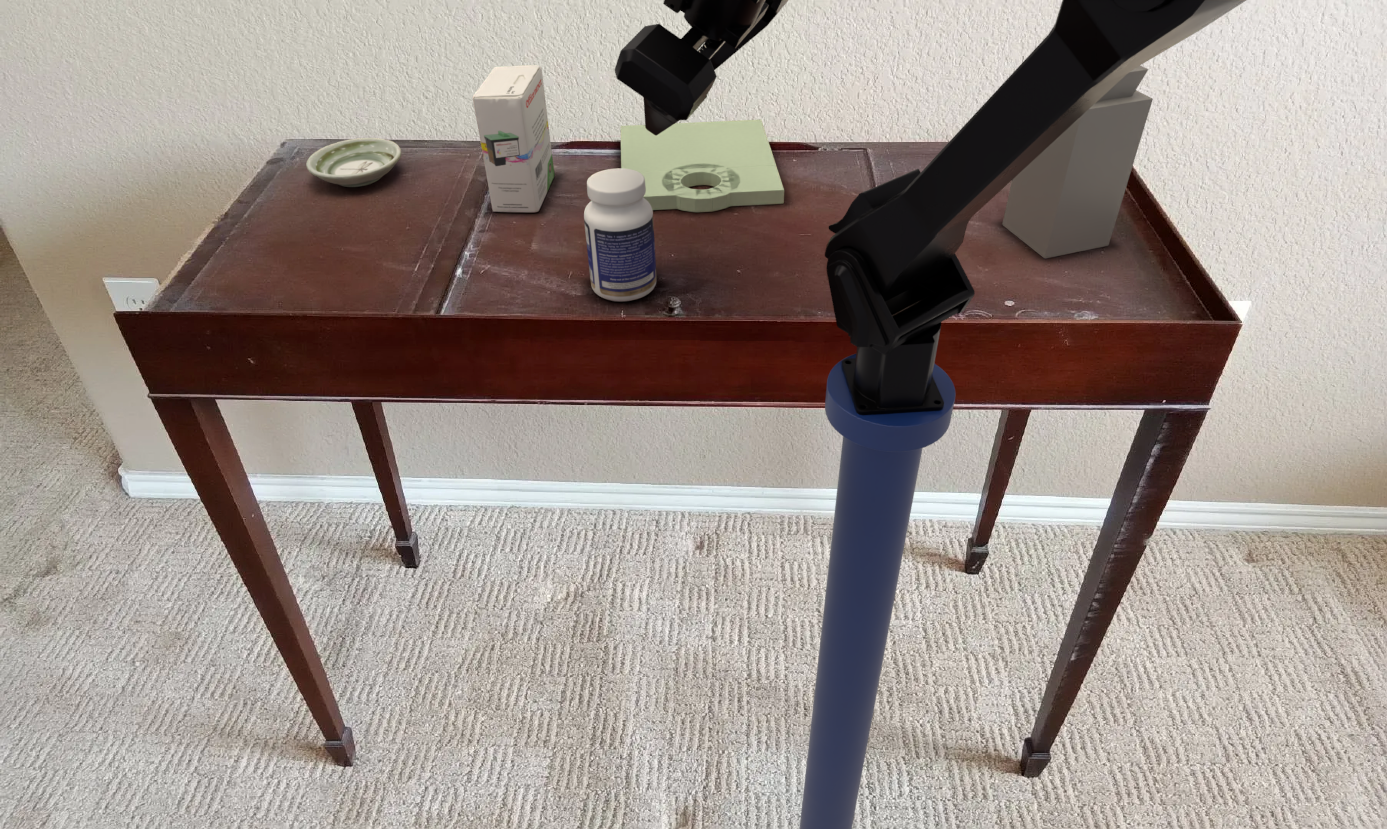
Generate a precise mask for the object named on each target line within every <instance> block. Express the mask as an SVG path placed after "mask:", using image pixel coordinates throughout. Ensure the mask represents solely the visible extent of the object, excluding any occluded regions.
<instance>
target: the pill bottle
mask: <svg viewBox="0 0 1387 829" xmlns="http://www.w3.org/2000/svg"><path fill="white" fill-rule="evenodd" d="M586 192H587V198H588V200H590V201H589V203H587V204H586V206H585V208H584V213H583V221H584V231H585V239H586V240H585V241H586V250H587V262H588V269H589V270H588V271H589V280H590V285H591V289H592V290H593V292H594V293H595V294H596V295H597V296H599V297H601V298H602V299H605V300H607V301H612V302H630V301H635V300H639V299H641V298H644V297H646V296H647V295H649V294H651V292H652V291H653V290H654V289H655V287H656V285H657V262H656V261H657V259H656V243H655V241H656V240H655V225H654V210H652V207H651V205H650V203H649V202H648V201H647V200H646V199H645V198H643V196H644V195H645V193H646V187H645V178H644V176H643V175H642V174H641V173H639V172H637V171H635V170H631V169H623V168H621V167H620V168H618V167H617V168H608V169H604V170H600V171H597V172H595V173H592V174H591V175H590V176H589V177H588V178H587V180H586Z"/></svg>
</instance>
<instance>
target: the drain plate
mask: <svg viewBox="0 0 1387 829" xmlns="http://www.w3.org/2000/svg"><path fill="white" fill-rule="evenodd" d="M619 129H620V168H623V169H631V170H635V171H637V172H639V173H641V174H642V175H643V176H644V178H645V187H646V193H645V195H644V196H643V198H645V199H646V200H647V201H648V202H649V203H650V205H651V207H652V210H653V211H660V210H661V211H662V210H663V211H664V210H680V211H682V212H689V213H712V212H717V211H721V210H724V209H728V208H730V207H741V206H742V207H743V206H765V205H782V204H785V203H784V202H785V188H784V185H783V182H782V179H781V176H780V173H779V170H778V167H777V164H776V163H777V162H776V160H775V156H774V155H773V152H772V148H771V145H770V142H769V139H768V136H767V133H766V130H765V127H764V123H763V120H762V119H742V120H741V119H740V120H739V119H737V120H720V121H719V120H718V121H698V122H697V121H695V122H677V123H675V124H673V125H672V126H670V127H669V128H667V129H666V130H664V131H663V132H661V133H660V134H658V135H654V134H652V133H651V132H649V131H648V130H647V129H646V128H645V124H631V125H620V128H619ZM695 186H710V187H711V188H706V189H697V188H691V187H695Z"/></svg>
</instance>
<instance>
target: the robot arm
mask: <svg viewBox="0 0 1387 829" xmlns="http://www.w3.org/2000/svg"><path fill="white" fill-rule="evenodd" d="M1246 1H1247V0H1062V1H1061V3H1060V7H1059V10H1058V13H1057V16H1056V19H1055V23H1054V25H1053V26H1052V28H1051V30H1050V31H1049V33H1047V35H1046V36H1045V37H1044V39H1042V41H1040V43H1039V44H1038V45H1037V46H1036V47H1035V48H1034V49H1033V51H1031V53H1030V54H1029V55H1028V56H1027V57H1026V58H1025V59H1024V60H1023V61H1022V62H1021V64H1019V66H1018V67H1017V68H1016V69H1015V70H1014V71H1013V72H1012V73H1011V74H1010V76H1009V77H1008V78H1007V79H1005V81H1004V82H1003V83H1002V84H1001V85H1000V86H999V87H998V88H997V90H995V91H994V93H993V94H992V95H991V96H990V97H988V99H987V101H986V102H984V103H983V104H982V106H981V107H980V108H978V110H976V112H975V113H974V115H972V117H970V118H969V120H968V121H967V122H966V123H965V124H964V125H963V126H962V127H961V128H960V129H959V130H958V132H957V133H956V134H954V135H953V137H952V138H951V139H950V141H949V142H947V143H946V144H945V146H944V147H943V148H942V149H941V150H940V151H939V152H938V153H937V154H936V155H935V157H934V158H933V159H932V160H931V161H930V162H929V163H928V164H927V165H926V166H925V168H924V169H922V170H920V168H916V169H914V170H911V171H909V172H907V173H905V174H902V175H900V176H897V177H895V178H892V179H890V180H888V181H886V182H883V183H881V184H878V185H876V186H874V187H872V188H869V189H866V190H865V191H862V192H860V193H858V195H857V196H856V197H855V198H854V200H853V201H852V202H851V203H850V205H849V207H848V209H847V211H846V212H845V214H844V215H843V217H842V218H840V220H838V221H836V222H834V223H832V224H829V225H828V230H829V231H830V232H831V233H833V235H832V236H831V237H830V238H829V240H828V241H827V244H826V246H825V251H824V257H825V258H826V259H827V261H826V275H827V280H828V286H829V287H828V288H829V292H830V297H831V301H832V307H833V313H834V318H835V323H836V326H837V328H838V329H840V330H842V331H843V332H845V333H846V334H847V335H848V337H849V339H850V340H849V342H850V344H851V345H853V346H855V347H856V352H855V354H856V358H847V359H844V358H843V359H841V360H842V364H841V367H842V370H843V374H844V377H845V380H846V383H847V386H848V389H849V392H850V395H851V398H852V401H853V404H854V407H855V411H856V412H857V413H858V414H859V415H877V414H894V413H911V412H928V411H940V410H942V409H943V407H944V401H943V399H942V396H941V394H940V392H939V390H938V387H937V385H936V383H935V381H934V378H933V376H932V373H933V368H934V364H935V362H936V356H937V351H938V346H939V340H940V334H941V328H942V323H943V322H944V321H946V320H948V319H949V318H951V317H953V316H955V315H956V314H961V313H963V312H964V311H966V308H968V305H969V304H970V303H971V301H972V300H973V298H974V297H975V289H974V287H973V285H972V282H970V279H969V277H968V276H967V273H966V271H965V270H964V268H963V266H962V264H961V262H960V260H959V259H958V256H957V254H956V253H957V251H958V250H959V249H960V247H961V246H962V244H963V243H964V240H965V235H966V231H967V227H968V224H969V222H970V221H971V219H972V218H973V217H974V216H975V215H977V213H978V212H979V211H980V210H981V209H982V208H983V207H984V206H986V205H987V204H988V203H989V202H990V201H991V200H992V199H993V198H994V197H995V196H997V195H998V194H999V193H1000V192H1001V191H1002V190H1003V189H1004V188H1005V187H1006V186H1007V185H1009V183H1011V182H1012V180H1013V179H1014V178H1015V177H1016V176H1017V175H1018V174H1019V173H1020V172H1021V171H1022V170H1023V169H1024V168H1026V167H1027V166H1028V165H1029V164H1030V163H1031V162H1032V161H1033V160H1034V159H1035V158H1036V157H1037V156H1039V155H1040V154H1041V153H1042V152H1043V151H1044V150H1045V149H1046V148H1047V147H1048V146H1049V145H1050V144H1052V143H1053V142H1054V141H1055V140H1056V139H1057V138H1058V137H1059V136H1060V135H1061V134H1062V133H1063V132H1065V131H1066V130H1067V129H1068V128H1069V127H1070V126H1071V125H1072V124H1073V123H1074V122H1075V121H1076V120H1078V119H1079V118H1080V117H1081V116H1082V115H1083V114H1084V113H1085V112H1086V111H1087V110H1088V109H1089V108H1091V107H1092V106H1093V105H1094V104H1095V103H1096V102H1097V101H1098V100H1099V99H1100V98H1101V97H1102V96H1104V95H1105V94H1106V93H1107V92H1108V91H1109V90H1110V89H1111V88H1112V87H1113V86H1114V85H1115V84H1117V83H1118V82H1119V81H1120V80H1121V79H1122V78H1123V77H1124V76H1125V75H1126V74H1128V73H1129V72H1130V71H1132V70H1133V69H1135V68H1137V67H1138V66H1140V65H1141V66H1142V65H1143V64H1145V63H1147V62H1148V61H1150V60H1152V59H1153V58H1156V57H1157V56H1159V55H1160V54H1162V53H1164V52H1165V51H1167V50H1169V49H1170V48H1173V47H1174V46H1175V45H1177V44H1179V43H1181V42H1183V41H1184V40H1186V39H1188V38H1190V37H1191V36H1192V35H1194V34H1196V33H1198V32H1199V31H1201V30H1203V29H1204V28H1206V27H1207V26H1209V25H1210V24H1212V23H1213V22H1215V21H1216V20H1218V19H1220V18H1221V17H1223V16H1225V15H1226V14H1227V13H1230V12H1231V11H1232V10H1234V9H1235V8H1237V7H1238V6H1240V5H1241V4H1243V3H1245V2H1246ZM788 2H789V0H663V3H662V4H663V5H664V6H666V7H667V8H668V9H670V10H671V11H673V12H674V13H676V14H679V13H680V12H681V13H683V18H684V20H685V22H686V23H687V24H688V25H689V26H690V28H689V29H688V31H687V32H686V33H685V34H684V35H683V36H682V37H681V38H680V37H678V36H677V35H676V34H675V33H673V32H672V31H670V30H669V29H667V28H666V27H664V26H663V25H662V24H660V23H655V24H650V25H649V24H648V25H644V26H643V27H642V28H641V29H640V30H639V32H638V33H636V34H635V36H634V37H632V39H630V41H628V43H627V44H625V46H623V48H621V50H620V51H619V54H618V58H617V61H616V64H615V67H614V73H615V77H616V80H618V81H619V82H621V84H624V85H625V86H626V87H628V88H629V89H631V90H633V91H634V92H635V93H637V95H640V96H641V97H642V98H643V111H644V125H645V128H646V129H647V130H648V131H649V132H651V133H652V134H654V135H658V134H660V133H661V132H663V131H664V130H666V129H667V128H669V127H670V126H672V125H673V124H675V123H679V122H680V121H688V119H689V118H690V117H691V116H692V115H693V114H694V113H695V112H696V111H697V109H698V108H699V107H700V106H701V104H702V103H704V101H705V100H706V99H707V97H708V94H709V92H710V91H711V89H712V87H713V86H714V83H715V82H716V79H717V77H718V76H717V73H716V70H717V69H718V68H719V67H721V66H722V65H723V64H724V63H726V61H728V60H729V59H730V58H731V57H732V56H733V55H734V54H737V52H738V51H739V50H741V49H742V48H743V47H744V46H745V45H747V44H748V43H749V42H750V41H751V40H752V39H754V38H755V37H756V36H757V35H758V34H760V33H761V32H762V31H763V30H764V29H765V28H767V27H768V26H769V24H771V22H773V20H774V19H775V18H776V17H777V15H778V14H779V13H780V12H781V10H782V9H783V8H784V7H785V5H786V4H787V3H788Z"/></svg>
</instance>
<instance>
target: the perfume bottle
mask: <svg viewBox="0 0 1387 829" xmlns="http://www.w3.org/2000/svg"><path fill="white" fill-rule="evenodd" d="M1148 71H1149V68H1147V67H1144V66H1143V65H1142V64H1141V65H1140V66H1138V67H1137V68H1135V69H1133V70H1132V71H1130V72H1129V73H1128V74H1126V75H1125V76H1124V77H1123V78H1122V79H1121V80H1120V81H1119V82H1118V83H1117V84H1115V85H1114V86H1113V87H1112V88H1111V89H1110V90H1109V91H1108V92H1107V93H1106V94H1105V95H1104V96H1102V97H1101V98H1100V99H1099V100H1098V101H1097V102H1096V103H1095V104H1094V105H1093V106H1092V107H1091V108H1089V109H1088V110H1087V111H1086V112H1085V113H1084V114H1083V115H1082V116H1081V117H1080V118H1079V119H1078V120H1076V121H1075V122H1074V123H1073V124H1072V125H1071V126H1070V127H1069V128H1068V129H1067V130H1066V131H1065V132H1063V133H1062V134H1061V135H1060V136H1059V137H1058V138H1057V139H1056V140H1055V141H1054V142H1053V143H1052V144H1050V145H1049V146H1048V147H1047V148H1046V149H1045V150H1044V151H1043V152H1042V153H1041V154H1040V155H1039V156H1037V157H1036V158H1035V159H1034V160H1033V161H1032V162H1031V163H1030V164H1029V165H1028V166H1027V167H1026V168H1024V169H1023V170H1022V171H1021V172H1020V173H1019V174H1018V175H1017V176H1016V177H1015V178H1014V179H1013V180H1011V181H1010V187H1009V192H1008V196H1007V201H1006V206H1005V210H1004V215H1003V218H1002V219H1003V220H1002V223H1001V225H1002V226H1003V227H1004V228H1006V230H1008V231H1009V232H1010V233H1012V235H1014V236H1015V237H1017V238H1018V239H1019V240H1020V241H1022V242H1023V243H1024V244H1025V245H1027V246H1028V247H1029V248H1030V249H1032V250H1033V251H1034V252H1036V254H1038V255H1039V256H1041V257H1042V259H1050V258H1055V257H1060V256H1064V255H1065V256H1066V255H1069V254H1074V253H1078V252H1084V251H1090V250H1095V249H1099V248H1103V247H1108V246H1109V245H1110V242H1111V238H1112V236H1113V233H1114V229H1115V225H1116V222H1117V219H1118V216H1119V212H1120V209H1121V206H1122V202H1123V200H1124V196H1125V193H1126V190H1127V186H1128V182H1129V179H1130V175H1131V172H1132V169H1133V167H1134V166H1133V165H1134V162H1135V159H1136V156H1137V153H1138V150H1139V146H1140V143H1141V140H1142V136H1143V133H1144V130H1145V126H1146V123H1147V120H1148V117H1149V113H1150V109H1151V106H1152V103H1153V99H1154V98H1152V97H1150V96H1149V95H1146V94H1145V93H1142V92H1141V91H1139V90H1137V89H1138V87H1139V86H1140V84H1141V82H1142V81H1143V79H1144V78H1145V76H1146V75H1147V73H1148Z"/></svg>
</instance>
